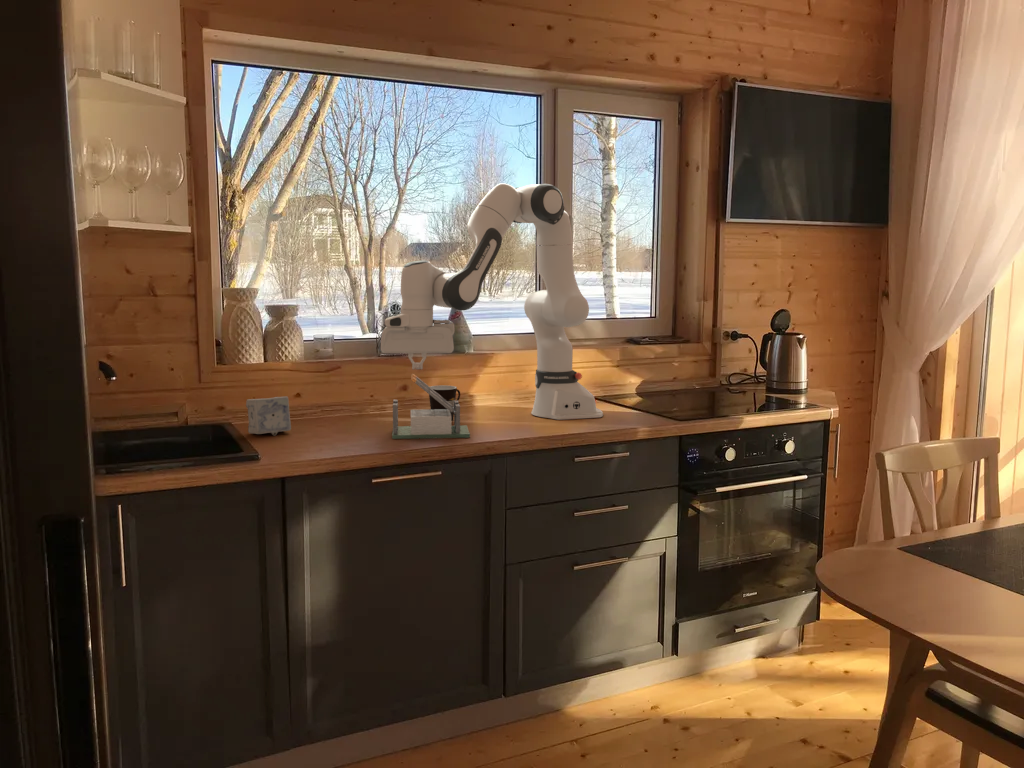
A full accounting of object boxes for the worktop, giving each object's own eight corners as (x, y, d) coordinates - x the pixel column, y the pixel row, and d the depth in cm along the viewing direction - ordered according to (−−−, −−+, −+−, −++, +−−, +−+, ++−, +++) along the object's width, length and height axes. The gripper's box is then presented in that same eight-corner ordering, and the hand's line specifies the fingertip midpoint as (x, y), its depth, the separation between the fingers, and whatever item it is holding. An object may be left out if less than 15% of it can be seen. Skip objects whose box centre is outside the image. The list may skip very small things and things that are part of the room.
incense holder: (280, 429, 231) (279, 393, 230) (291, 434, 225) (290, 397, 223) (246, 433, 225) (244, 396, 224) (257, 438, 219) (255, 400, 217)
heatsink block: (466, 428, 234) (466, 397, 233) (469, 437, 222) (469, 405, 221) (393, 429, 231) (392, 398, 230) (392, 438, 220) (391, 406, 218)
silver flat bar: (450, 406, 231) (451, 404, 231) (450, 408, 228) (452, 406, 228) (411, 375, 228) (413, 373, 228) (411, 377, 225) (413, 374, 225)
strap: (451, 410, 225) (453, 408, 225) (451, 412, 222) (453, 410, 222) (411, 378, 222) (413, 376, 222) (411, 380, 219) (413, 377, 219)
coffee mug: (434, 423, 241) (434, 390, 239) (424, 418, 248) (423, 386, 247) (470, 420, 246) (470, 388, 244) (459, 415, 253) (459, 384, 252)
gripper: (454, 318, 229) (454, 367, 231) (380, 318, 226) (381, 368, 228) (455, 320, 223) (455, 370, 225) (379, 320, 220) (380, 370, 222)
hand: (417, 369), depth 227 cm, fingers closed
